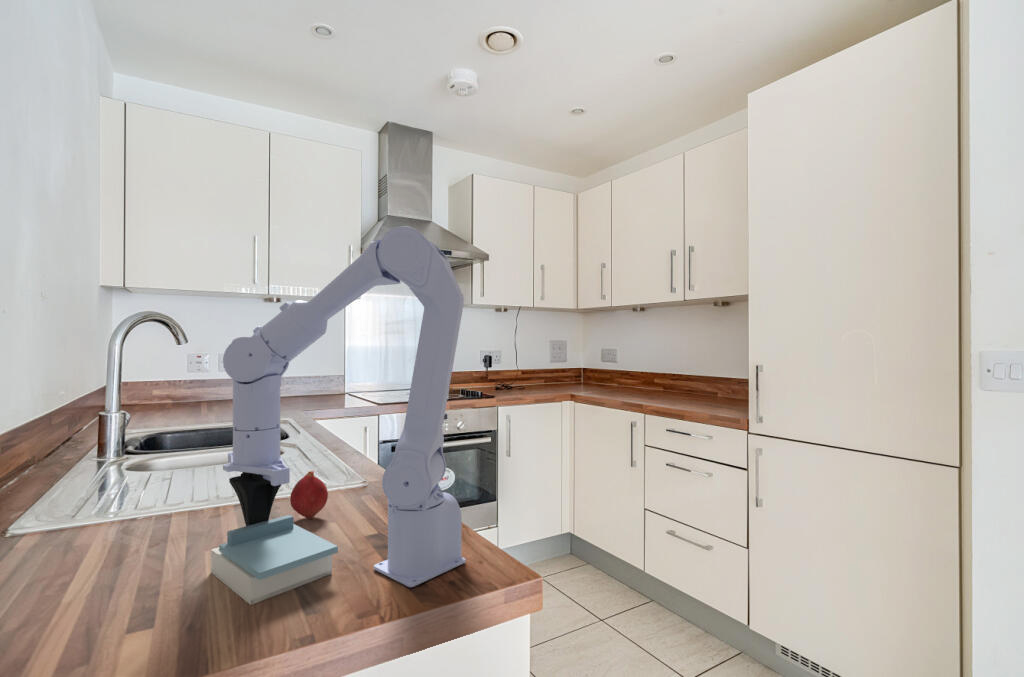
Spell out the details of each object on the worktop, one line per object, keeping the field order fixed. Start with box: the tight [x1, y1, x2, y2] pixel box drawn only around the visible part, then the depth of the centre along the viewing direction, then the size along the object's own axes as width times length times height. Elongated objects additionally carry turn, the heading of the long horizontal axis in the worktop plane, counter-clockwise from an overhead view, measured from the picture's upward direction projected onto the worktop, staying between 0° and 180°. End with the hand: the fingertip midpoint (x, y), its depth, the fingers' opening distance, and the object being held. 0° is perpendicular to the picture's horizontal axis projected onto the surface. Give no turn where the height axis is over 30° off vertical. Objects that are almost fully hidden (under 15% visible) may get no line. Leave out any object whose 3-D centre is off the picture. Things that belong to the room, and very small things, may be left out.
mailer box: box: [210, 546, 333, 606], centre depth 65 cm, size 10×12×3 cm
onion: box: [289, 470, 329, 520], centre depth 85 cm, size 6×6×8 cm
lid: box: [218, 514, 339, 580], centre depth 64 cm, size 10×12×2 cm
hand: (256, 528), depth 68 cm, fingers closed
